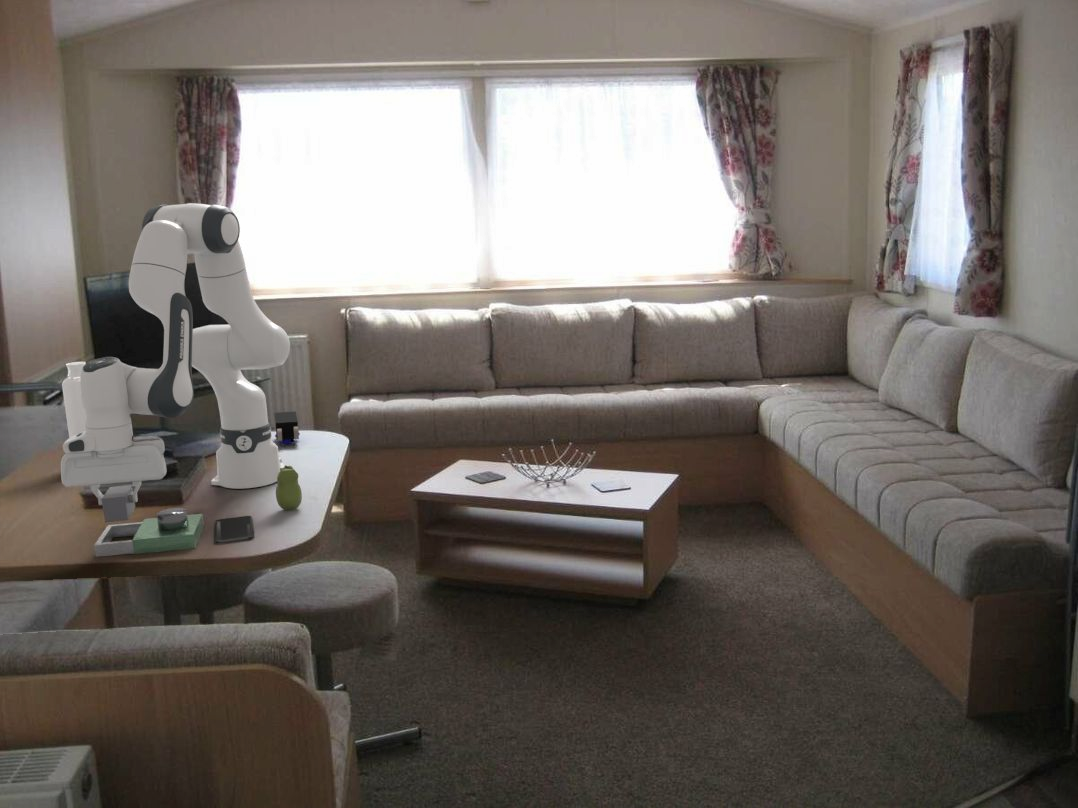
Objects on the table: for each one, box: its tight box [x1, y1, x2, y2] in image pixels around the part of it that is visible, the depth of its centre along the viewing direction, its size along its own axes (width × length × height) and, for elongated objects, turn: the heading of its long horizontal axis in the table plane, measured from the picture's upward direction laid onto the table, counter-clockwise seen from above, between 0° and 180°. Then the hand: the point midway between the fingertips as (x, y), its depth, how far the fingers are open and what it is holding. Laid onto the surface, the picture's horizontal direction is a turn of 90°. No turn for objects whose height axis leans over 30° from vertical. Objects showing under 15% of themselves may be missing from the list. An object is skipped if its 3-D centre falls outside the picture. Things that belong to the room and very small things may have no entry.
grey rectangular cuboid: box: [101, 484, 136, 523], centre depth 231 cm, size 9×4×5 cm, turn 11°
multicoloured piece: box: [93, 507, 205, 558], centre depth 233 cm, size 14×20×6 cm
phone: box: [214, 515, 255, 545], centre depth 238 cm, size 8×1×15 cm
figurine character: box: [273, 411, 300, 447], centre depth 313 cm, size 7×8×15 cm
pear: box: [275, 464, 303, 511], centre depth 250 cm, size 6×5×10 cm
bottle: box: [61, 361, 86, 439], centre depth 293 cm, size 8×8×28 cm
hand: (118, 503), depth 230 cm, fingers closed on grey rectangular cuboid, 4 cm apart
